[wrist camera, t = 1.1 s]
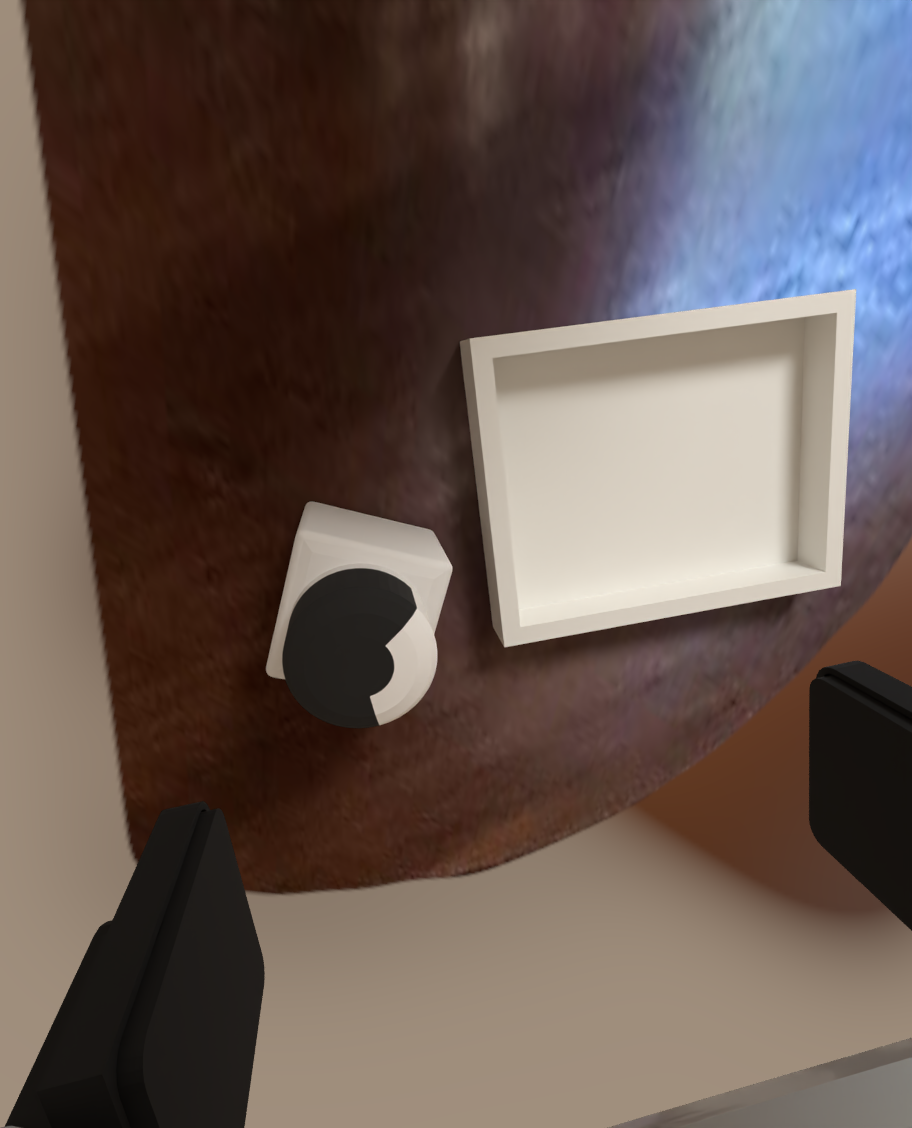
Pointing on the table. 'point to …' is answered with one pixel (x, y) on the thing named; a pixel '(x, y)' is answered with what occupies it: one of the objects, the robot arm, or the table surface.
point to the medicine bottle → (359, 616)
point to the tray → (660, 462)
